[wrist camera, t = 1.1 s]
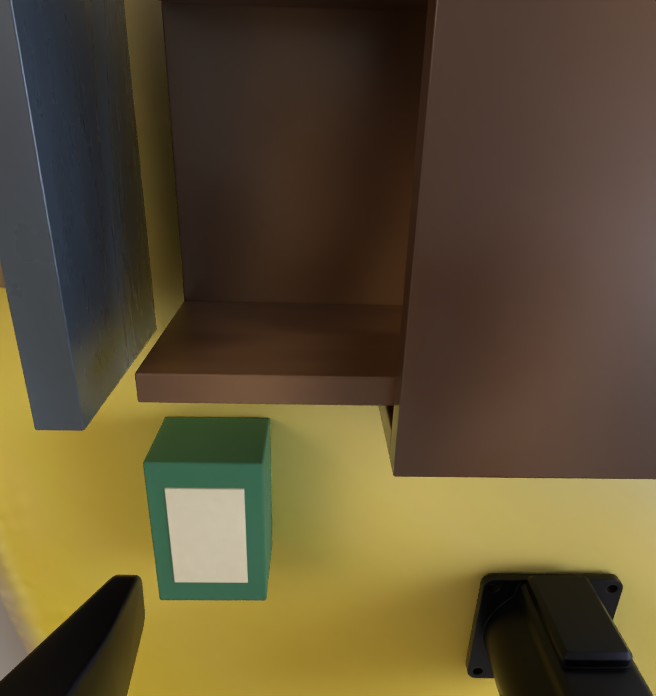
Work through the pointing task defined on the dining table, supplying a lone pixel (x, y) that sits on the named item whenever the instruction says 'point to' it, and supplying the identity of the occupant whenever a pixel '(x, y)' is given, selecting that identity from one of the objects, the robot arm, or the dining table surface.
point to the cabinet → (531, 245)
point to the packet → (211, 507)
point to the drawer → (211, 201)
